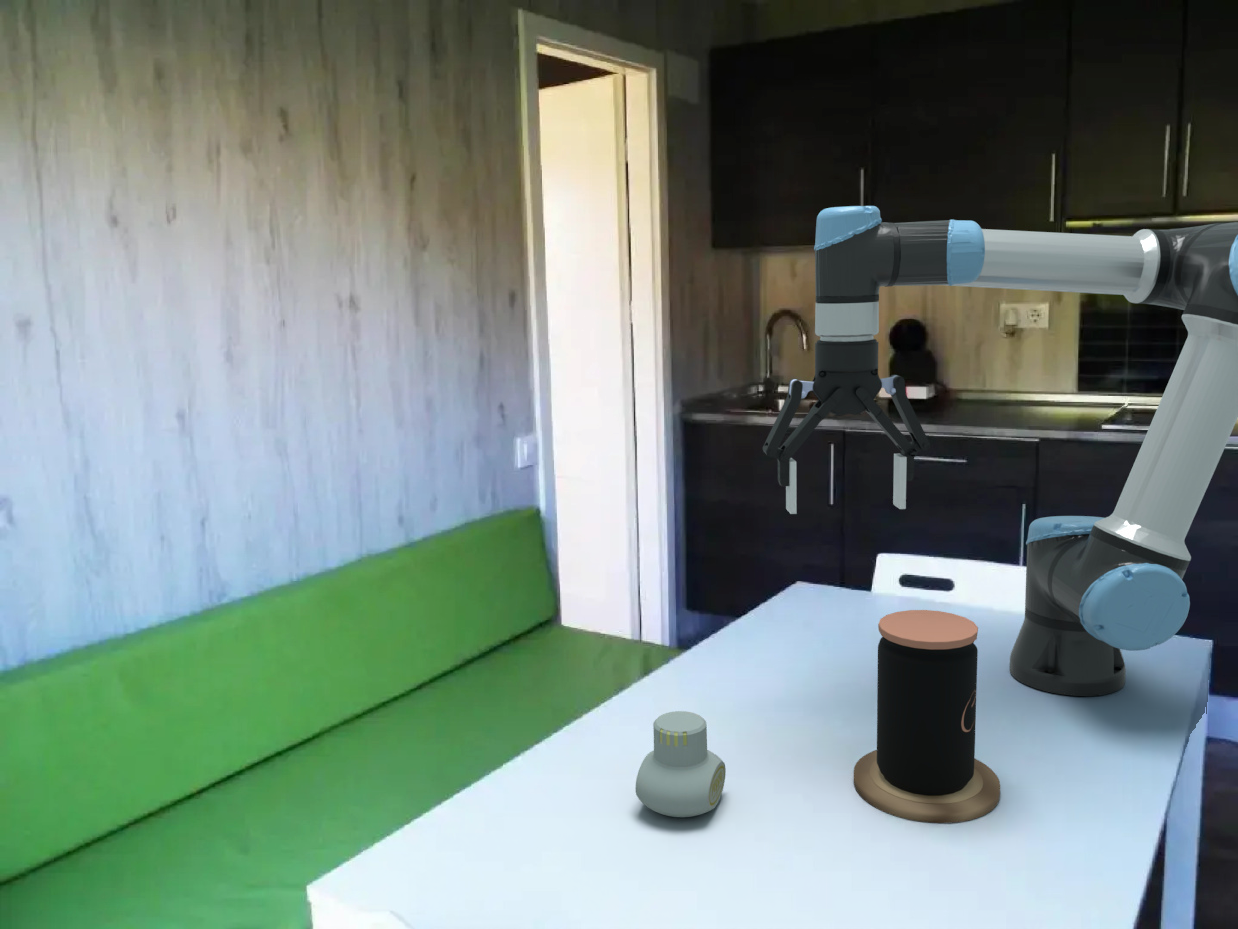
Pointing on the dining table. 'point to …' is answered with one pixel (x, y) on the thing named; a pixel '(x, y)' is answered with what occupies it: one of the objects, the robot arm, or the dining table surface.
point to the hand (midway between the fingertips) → (845, 509)
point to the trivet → (933, 809)
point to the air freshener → (680, 768)
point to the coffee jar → (926, 701)
